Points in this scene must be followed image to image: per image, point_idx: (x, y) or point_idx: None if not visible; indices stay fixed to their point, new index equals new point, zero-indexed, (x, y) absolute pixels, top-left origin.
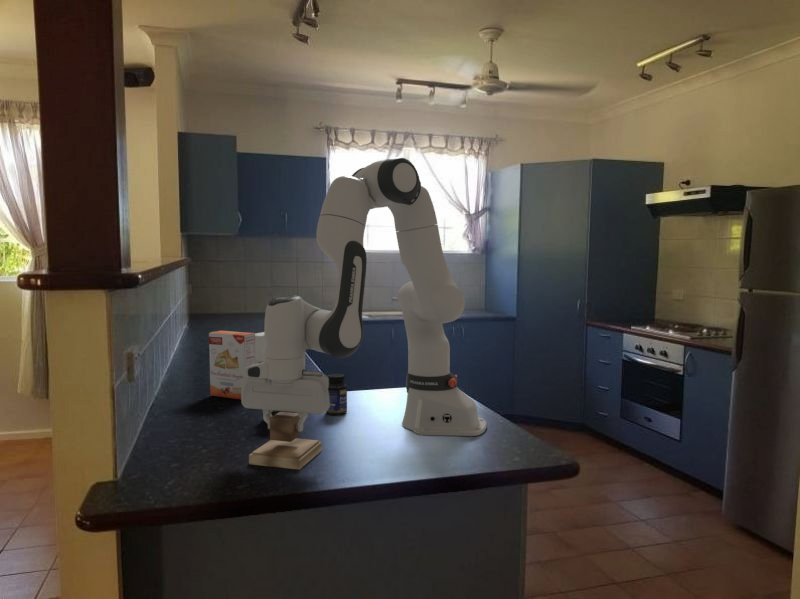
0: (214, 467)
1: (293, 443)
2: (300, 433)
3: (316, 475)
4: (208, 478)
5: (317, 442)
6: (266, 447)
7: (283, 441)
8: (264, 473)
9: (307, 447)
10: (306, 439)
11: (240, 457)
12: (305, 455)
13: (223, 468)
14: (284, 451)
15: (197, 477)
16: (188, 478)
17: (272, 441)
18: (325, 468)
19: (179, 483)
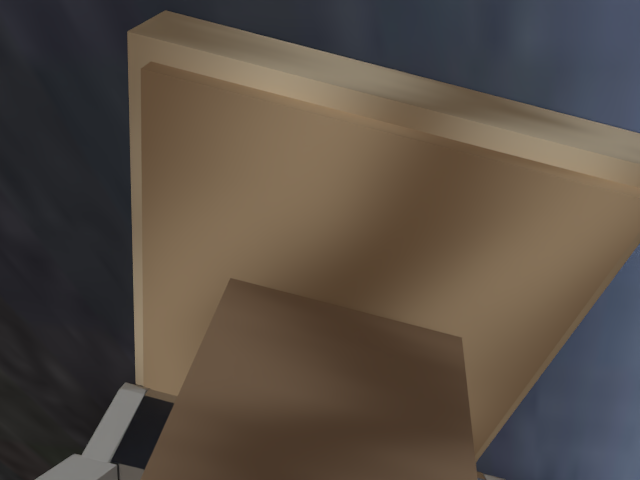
0: (15, 358)
1: (387, 270)
2: (462, 352)
3: (557, 474)
4: (77, 441)
5: (632, 232)
6: (194, 332)
7: (279, 217)
8: None
9: (522, 355)
10: (512, 171)
11: (48, 250)
12: (504, 420)
13: (65, 371)
14: None
15: (28, 430)
16: (2, 433)
17: (178, 213)
18: (621, 421)
19: (7, 459)
